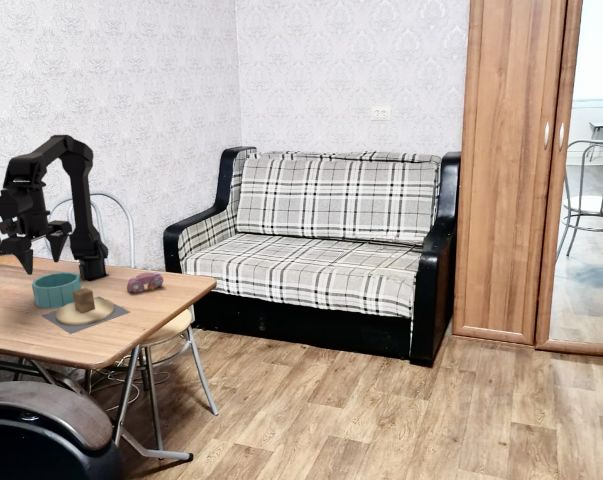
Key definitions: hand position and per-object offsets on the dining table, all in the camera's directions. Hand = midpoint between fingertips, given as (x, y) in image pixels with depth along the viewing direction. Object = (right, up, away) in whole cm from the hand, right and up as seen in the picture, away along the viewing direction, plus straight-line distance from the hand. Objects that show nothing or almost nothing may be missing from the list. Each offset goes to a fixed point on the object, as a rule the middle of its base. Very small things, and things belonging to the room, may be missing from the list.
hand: (43, 268), depth 147 cm
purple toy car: (+22, -7, +16) cm, 28 cm away
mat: (+10, -12, +1) cm, 16 cm away
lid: (+10, -12, +1) cm, 16 cm away
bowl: (-1, -9, +11) cm, 15 cm away
